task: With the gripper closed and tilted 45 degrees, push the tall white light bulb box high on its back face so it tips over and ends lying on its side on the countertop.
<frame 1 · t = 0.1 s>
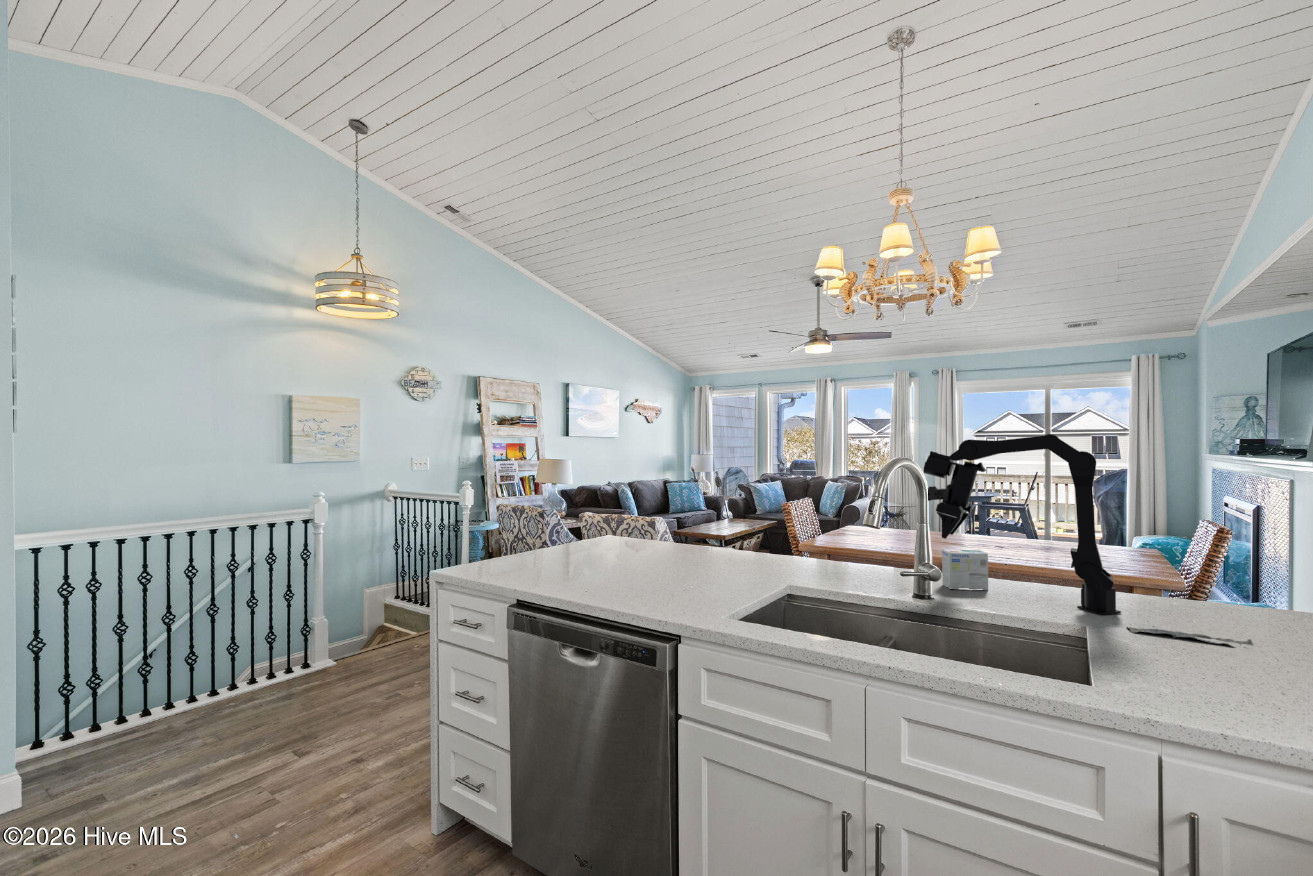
hand: (947, 536, 169), 15 cm above the worktop, tool pointing down, fingers open, 9 cm apart
driftwood: (1188, 641, 127), on the worktop
light bulb box: (964, 589, 172), on the worktop
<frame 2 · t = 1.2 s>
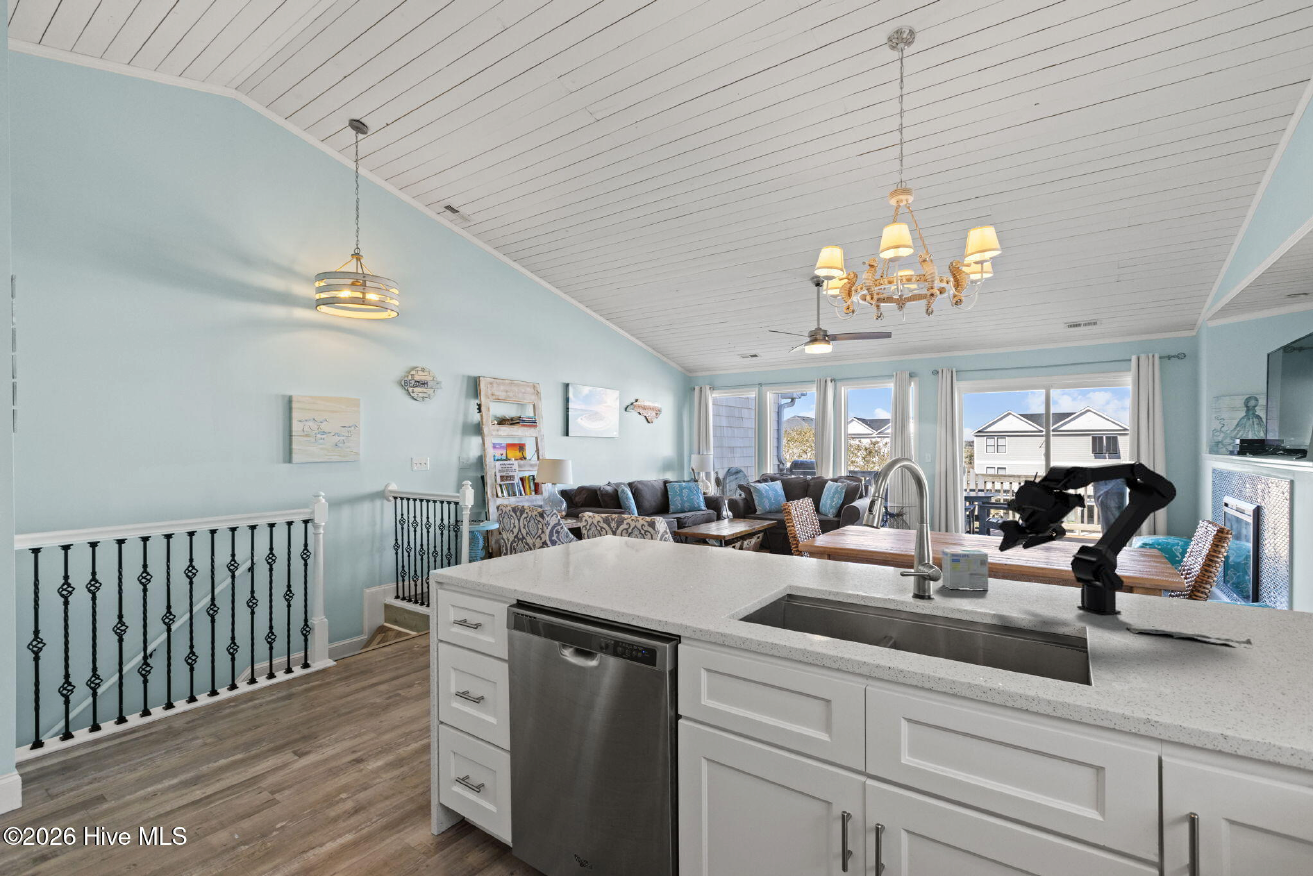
hand: (1011, 549, 159), 13 cm above the worktop, tool tilted 45°, fingers open, 9 cm apart
nothing on the worktop moved.
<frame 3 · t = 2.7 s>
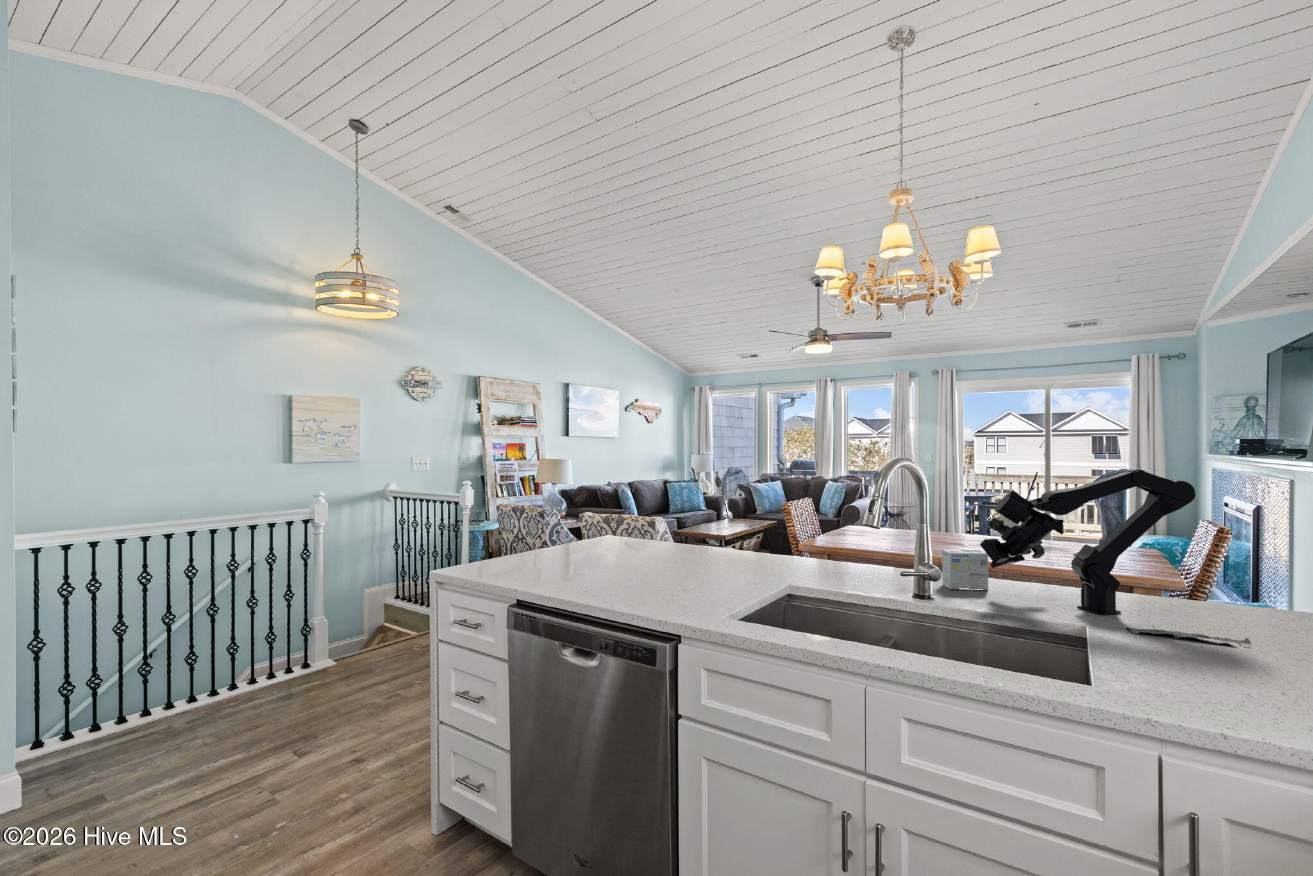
hand: (992, 566, 164), 8 cm above the worktop, tool tilted 45°, fingers closed
nothing on the worktop moved.
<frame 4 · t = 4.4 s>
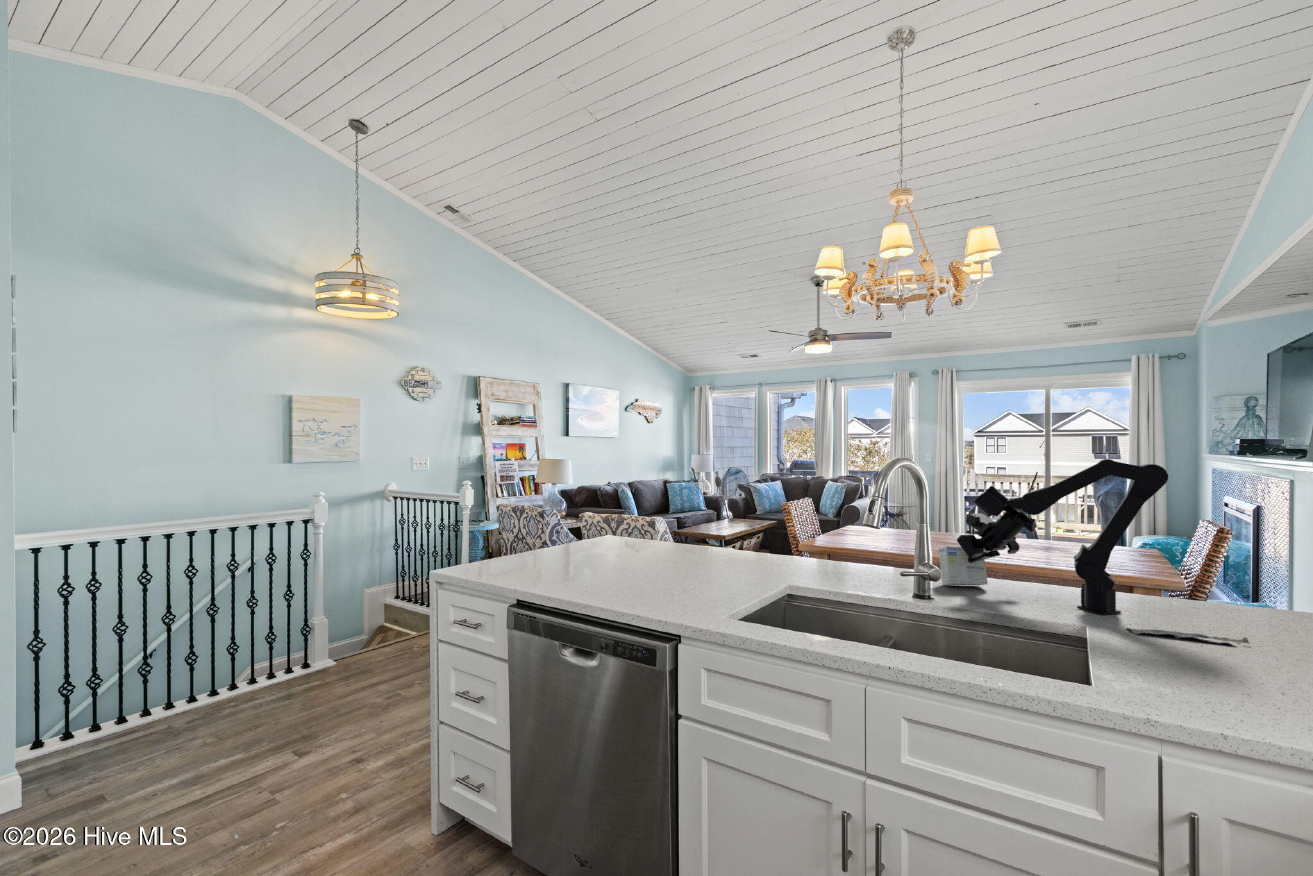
hand: (969, 561, 170), 8 cm above the worktop, tool tilted 45°, fingers closed
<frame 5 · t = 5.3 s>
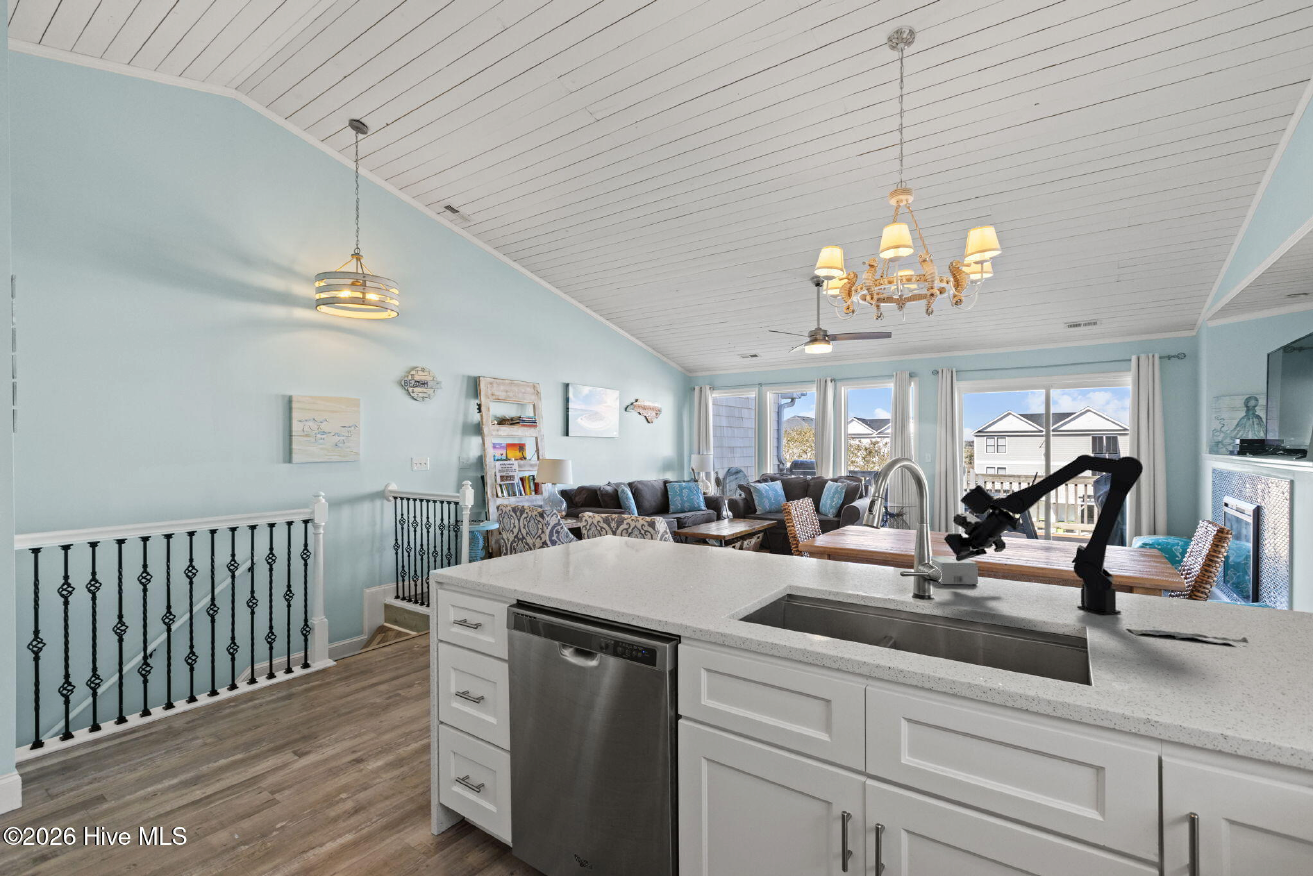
hand: (957, 559, 174), 8 cm above the worktop, tool tilted 45°, fingers closed
light bulb box: (959, 573, 175), point 3 cm above the worktop
everything else where it was.
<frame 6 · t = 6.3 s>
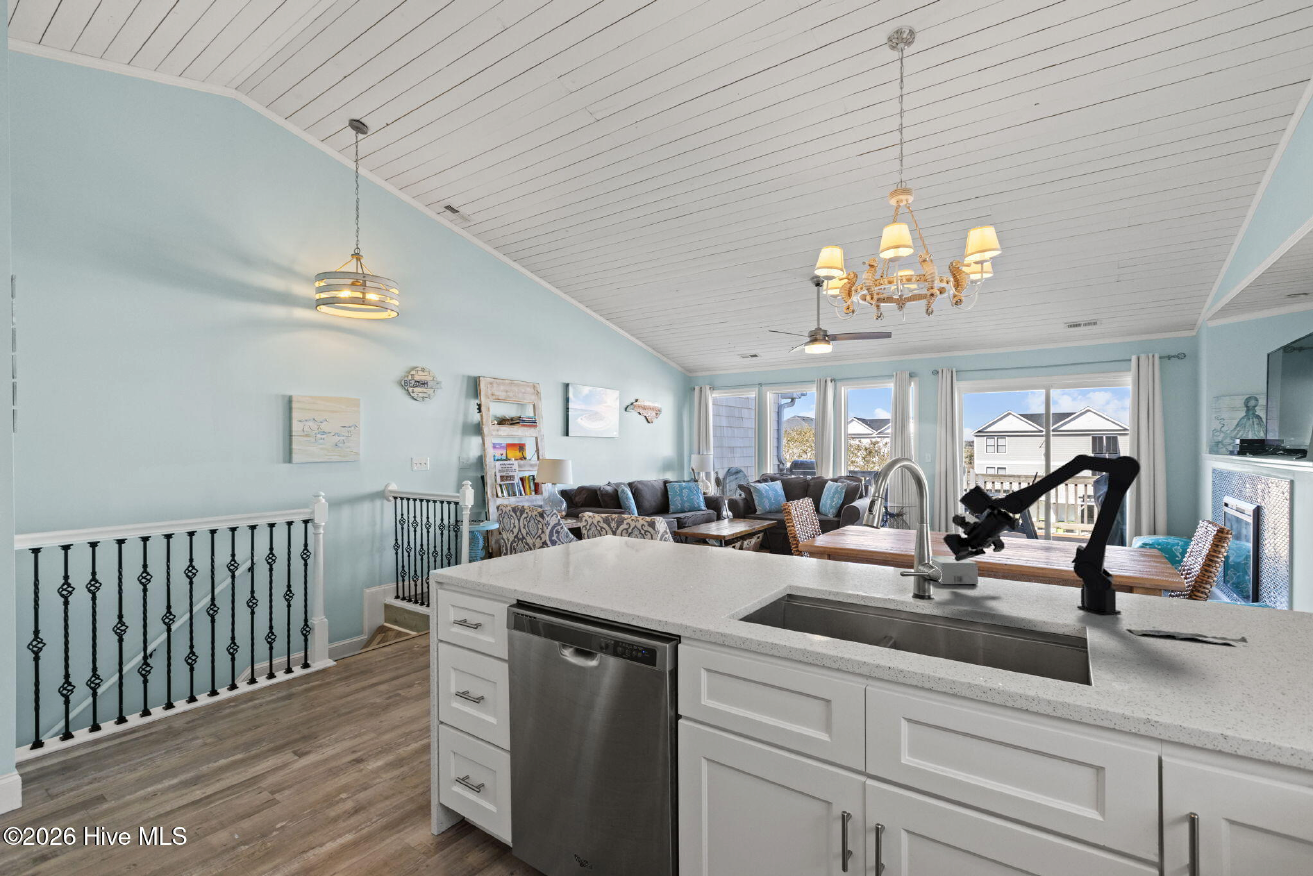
hand: (956, 559, 175), 8 cm above the worktop, tool tilted 45°, fingers closed
nothing on the worktop moved.
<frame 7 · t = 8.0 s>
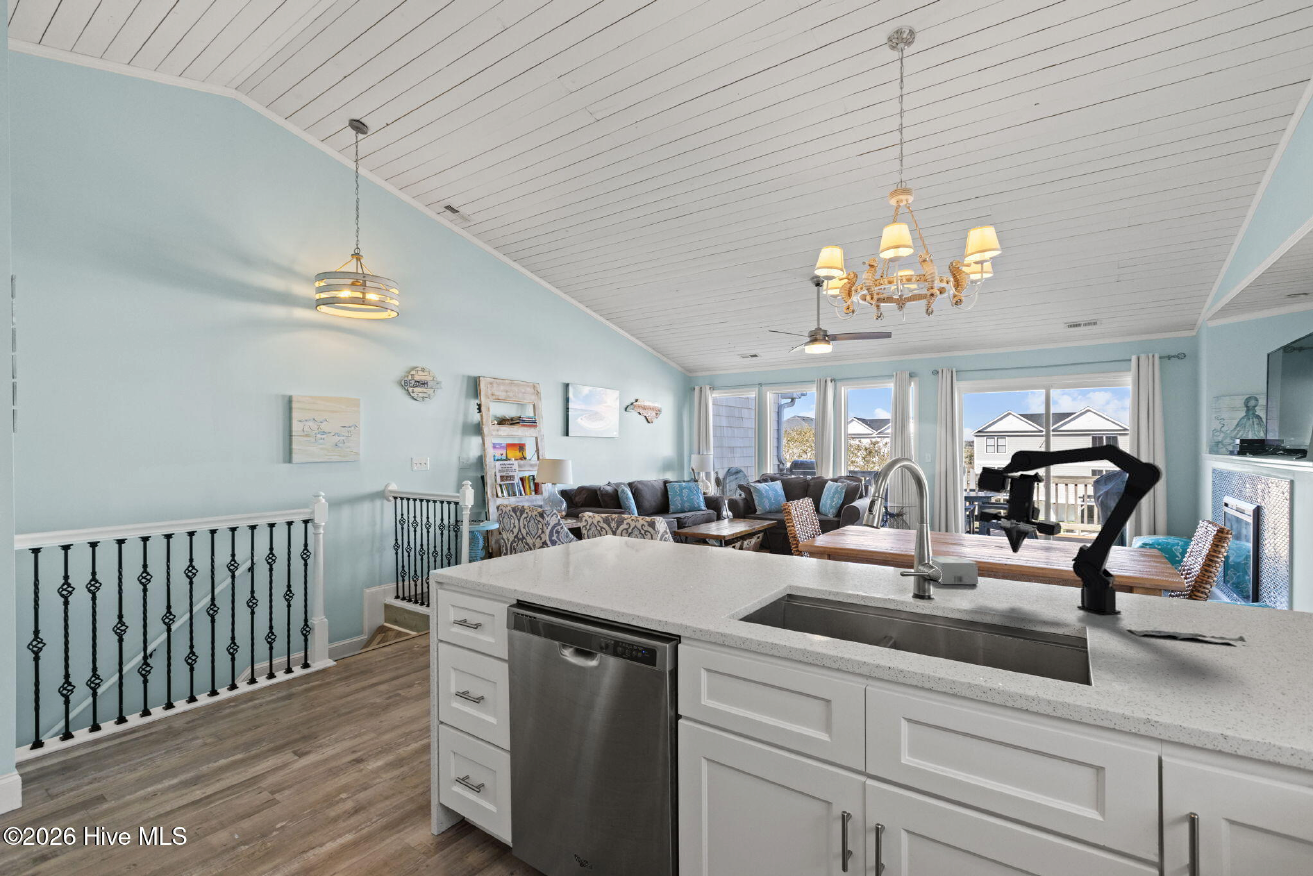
hand: (1015, 552, 162), 12 cm above the worktop, tool pointing down, fingers closed
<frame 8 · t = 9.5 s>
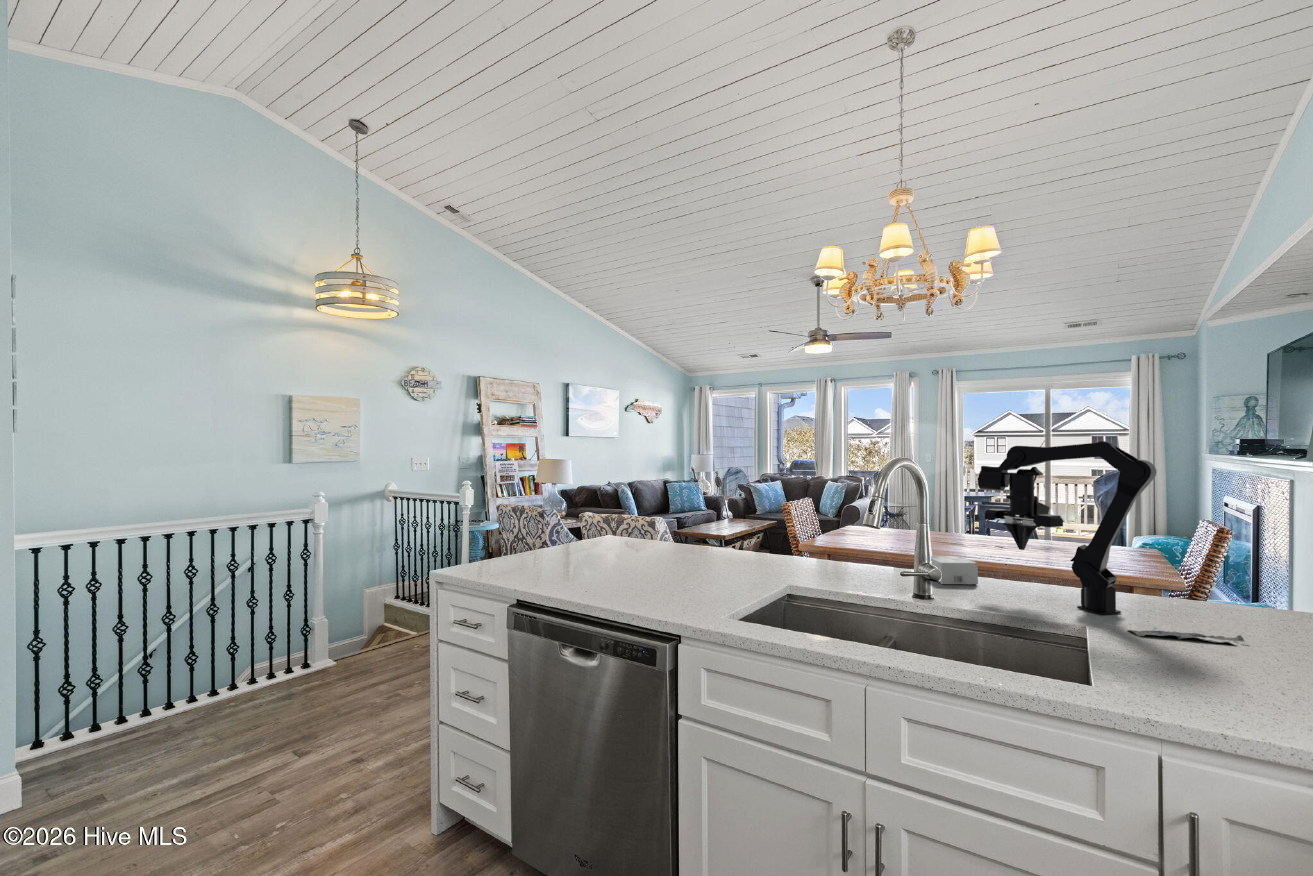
hand: (1021, 549, 161), 13 cm above the worktop, tool pointing down, fingers closed
at the end: light bulb box tilted 91°; light bulb box moved 4.7 cm from its start; the gripper is holding nothing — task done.
